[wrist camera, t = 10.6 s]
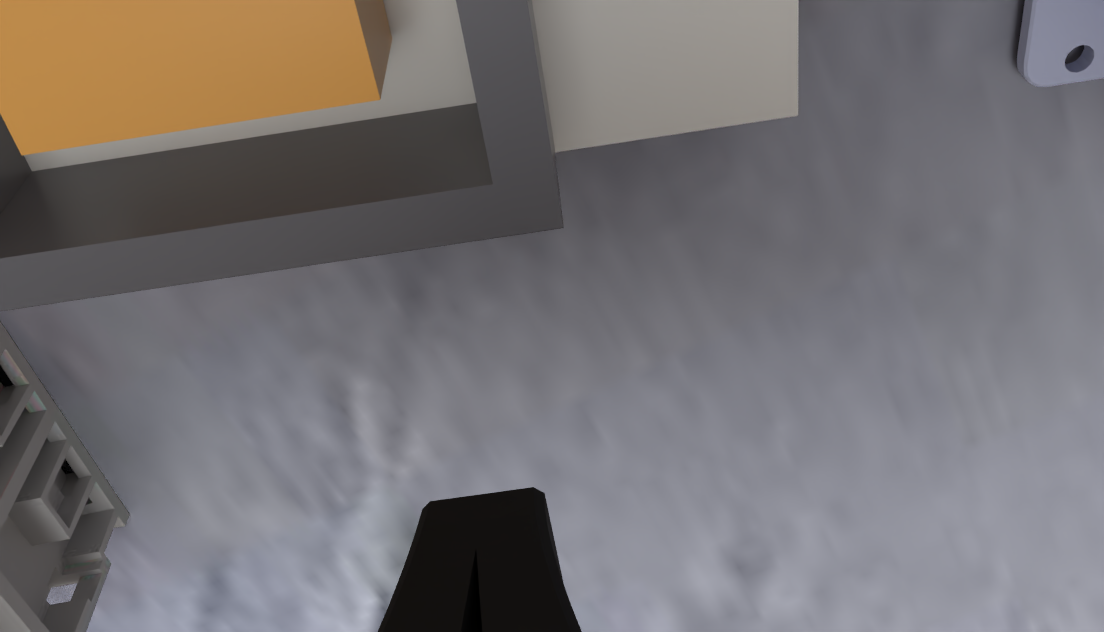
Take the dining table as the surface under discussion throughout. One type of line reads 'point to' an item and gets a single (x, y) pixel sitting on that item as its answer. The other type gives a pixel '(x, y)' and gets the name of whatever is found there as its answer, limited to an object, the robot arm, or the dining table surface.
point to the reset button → (180, 64)
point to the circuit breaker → (47, 508)
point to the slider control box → (394, 145)
